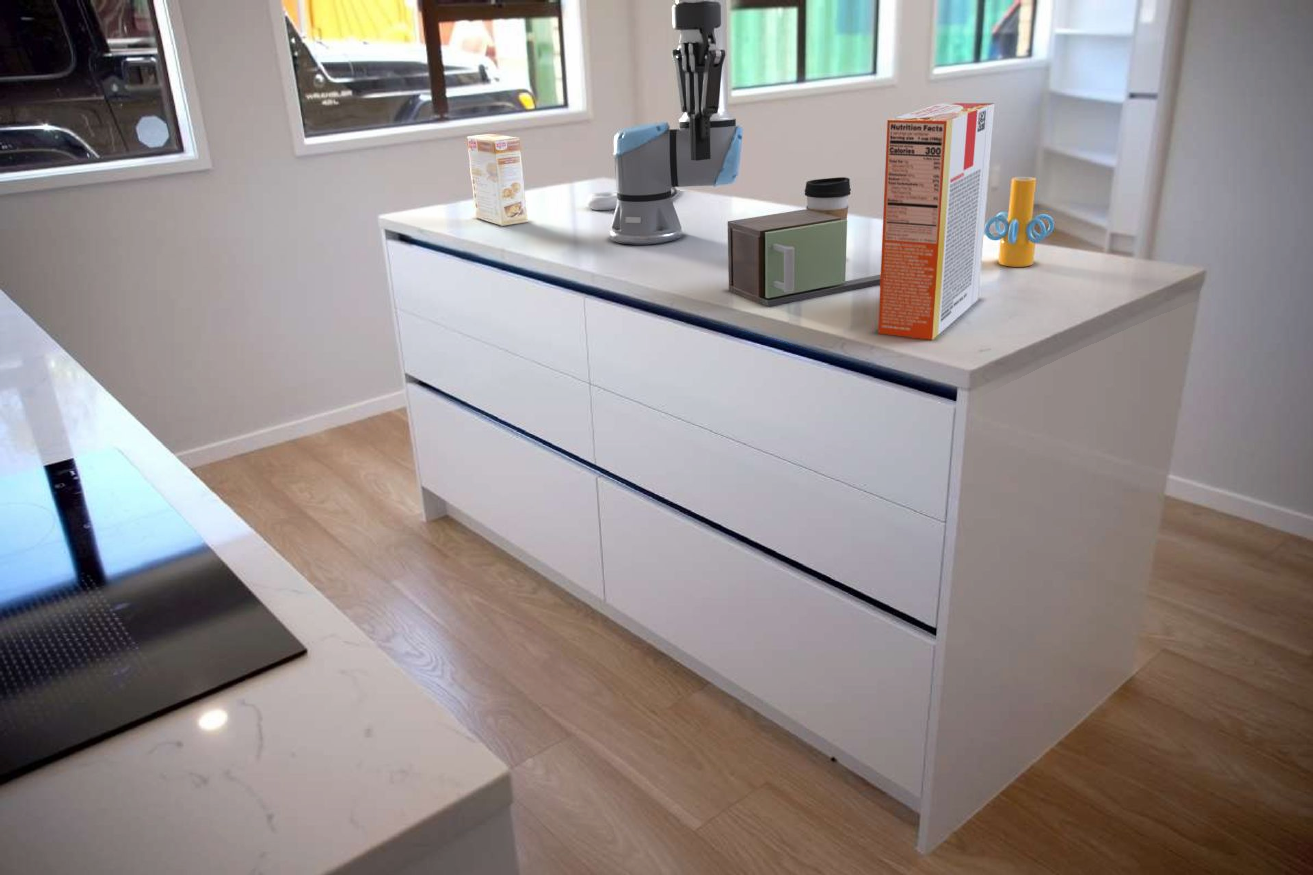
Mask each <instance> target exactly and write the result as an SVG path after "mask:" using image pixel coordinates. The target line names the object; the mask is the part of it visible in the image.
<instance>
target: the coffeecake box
mask: <svg viewBox="0 0 1313 875" xmlns="http://www.w3.org/2000/svg"><path fill="white" fill-rule="evenodd" d="M520 139H521V138H520V137H518V136H517V137H516V136H510V135H502V134H495V133H485V134H484V133H483V134H475V135H467V136H466V144H467V151H468V152H467V153H468V160H469V169H470V170H469V171H470V177H471V178H470V179H471V187H472V196H473V204H474V211H475V212H474V213H475V219H479V220H482V221H486V222H489V223H492V224H494V225H498V226H502V227H505V226H512V225H518V224H524V223H528V222H529V220H528V214H527V201H526V193H525V190H526V189H525V180H524V171H523V161H522V152H521V150H522V149H521V140H520Z"/></svg>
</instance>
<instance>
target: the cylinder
mask: <svg viewBox="0 0 1313 875" xmlns="http://www.w3.org/2000/svg"><path fill="white" fill-rule="evenodd" d="M1036 184H1037V178H1036V177H1031V176H1016V177H1012V178H1011V182H1010V194H1009V204H1008V212H1007V211H1000V212H999V213H997V215H996V216H993V217H991V218H990V219H988V221H987V222H985V225H984V235H985V236H986V237H987V238H988V239H989V240H990V241H999V247H998V248H999V249H998V250H999V251H998V259H997V260H998V264H999V265H1002V266H1005V267H1012V268H1022V267H1023V268H1025V267H1029V266H1032V265H1033V264H1034V260H1035V252H1036V244H1039V243H1041V242H1043V241H1044V239H1045V238H1046V237H1048V236H1049V235H1051V233H1052V232H1053V230H1054V227H1055V222H1054V219H1053V217H1051V216H1050V215H1049V214H1046V213H1042V214H1038V215H1035V217H1033V212H1034V203H1035V194H1036V192H1035V191H1036ZM1043 219H1044V220H1046V221H1047V222H1048V228H1046V225H1045V223H1044V222H1043ZM1000 222H1001V223H1002V224H1003V230H1002V229H1001V228H1000ZM993 223H994V229H995V231H996V233H997V234H998V235H993V234H991V231H990V228H991V226H992V224H993ZM1036 224H1037V225H1038V226H1039V229H1040V233H1038V232H1037V231H1036V230H1035V226H1036Z"/></svg>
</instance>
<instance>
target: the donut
mask: <svg viewBox="0 0 1313 875" xmlns="http://www.w3.org/2000/svg"><path fill="white" fill-rule="evenodd" d="M586 204H587V207H588V208H589V209H592V210H594V211H612V210H616V206H617V191H601V192H595V193H592V194H590V195H589V196H588V197H587V198H586Z"/></svg>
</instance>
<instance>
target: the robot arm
mask: <svg viewBox="0 0 1313 875" xmlns="http://www.w3.org/2000/svg"><path fill="white" fill-rule="evenodd" d="M675 3H676V4H673V5H672V6H671V15H672V17H671V18H672V28H673V29H674V30H676V31H680V36H679V46H678V48H677V49H672V50H671V57H672V60H673V64H674V68H675V75H676V82H677V89H678V95H679V96H678V97H679V104H680V110H681V112H682V113H683V115H682V116H681V117H680V118H679V120H678V121H679V123H678V126H679V128H674V129H671V126H670V125H669V123H668V122H667V121H661V122H650V123H644V124H639V125H635V126H630V127H627V128H624V129H621V130H619V131H618V132H617V133H616V134H615V135H614V138H613V157H614V169H615V189H616V192H617V206H616V209H614V214H613V219H612V222H611V227H610V229H609V230H610V240H611V241H612V242H614V243H617V244H622V245H634V246H635V245H638V246H641V245H642V246H644V245H645V246H646V245H658V244H663V243H664V244H665V243H669V242H673V241H676V240H679V239H680V238H681V237H682V234H683V233H682V225H681V222H680V219H679V216H678V214H677V210H676V208H675V205H674V203H673V199H672V198H674V197H675V196H676V195H677V193H678V190H677V188H682V187H684V188H685V187H687V188H688V187H710V186H711V187H715V188H716V187H717V186H725V185H732V184H734V183H735V182H736V181H737V179H738V176H739V169H740V161H741V154H742V144H743V143H742V142H743V134H744V128H743V127H742V126H741V125H737V118H736V116H735V115H734V114H733V113H732V112H731V110H730V109H729V79H728V78H729V77H728V76H729V74H728V18H727V17H728V16H727V13H728V12H727V0H675ZM672 191H673V192H672Z"/></svg>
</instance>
